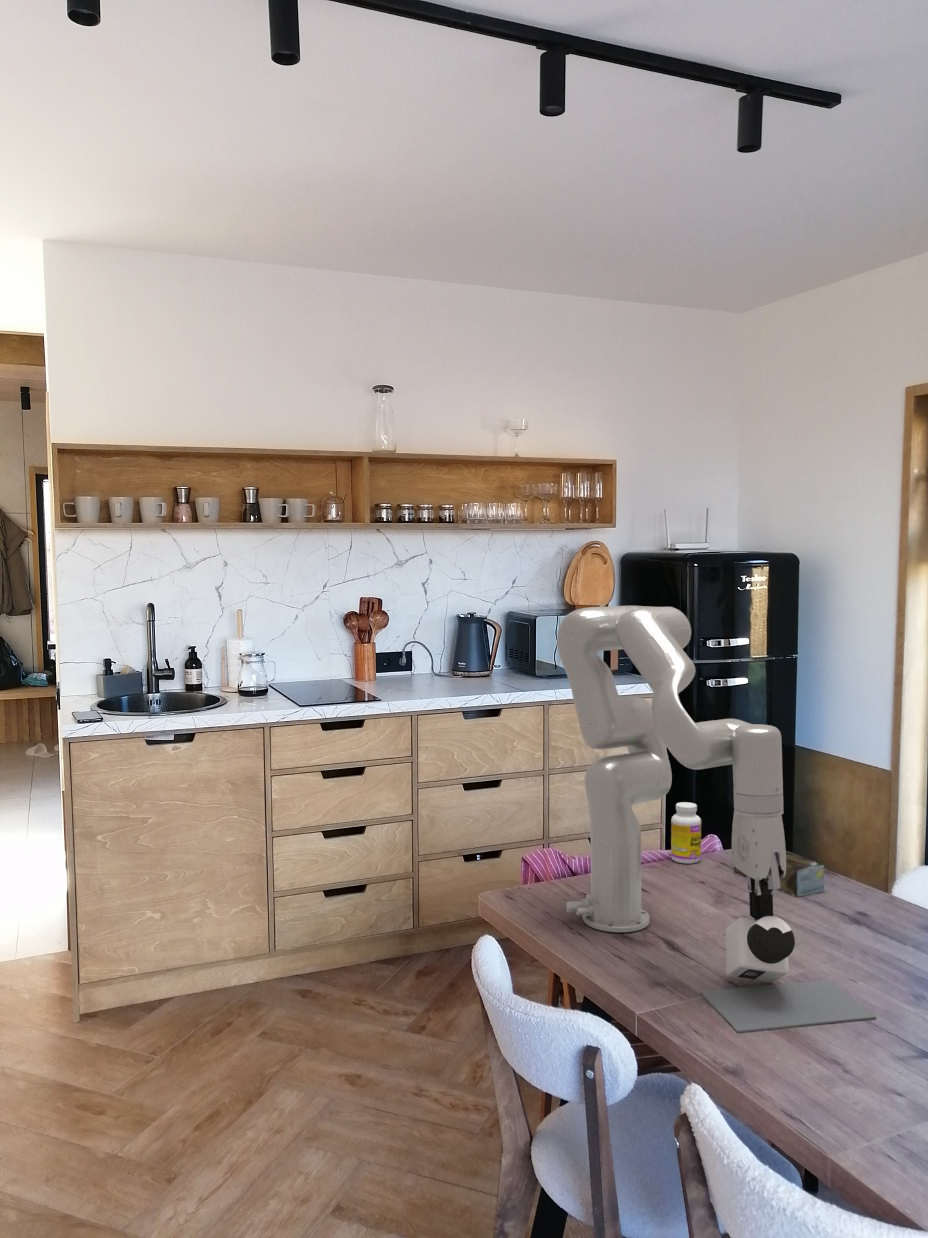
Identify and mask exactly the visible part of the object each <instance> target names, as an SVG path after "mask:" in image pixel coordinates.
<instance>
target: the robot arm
mask: <svg viewBox="0 0 928 1238" xmlns="http://www.w3.org/2000/svg"><path fill="white" fill-rule="evenodd" d="M691 627H692V626H691V623H690V621H689V619H688V618H687V616H686V615H685V614H684V613H683V612H682V611H681V610H680V609H677V607H676V608H675V607H673V606H649V605H647V606H644V605H643V606H642V605H617V606H616V605H613V606H588V607H584V608H579V609H575V610H573V611H571V612H569V613H567V614H566V616H564V617H563V619H562V621H561V622H560V625H559V627H558V630H557V637H556V638H557V640H556V641H557V642H556V645H557V651H558V654H559V655H558V656H559V658H560V662H561V663H562V667H563V669H564V671H565V673H566V676H567V678H568V681H569V685H570V689H571V694H572V699H573V704H574V707H575V712H576V715H577V719H578V725H579V728H580V733H581V735H582V738H583V740H584V744H586V746H588V747H589V748H590V749H592V750H598V751H601V750H602V751H604V750H610V749H611V750H612V749H620V748H625V747H626V748H627V749H626V750H627V751H628V753H621V754H620V753H619V754H614V755H609V756H604V757H601V758H599V759H597V760H595V761H593V762H592V763H591V764H590V765H589V766H588V768H587V769H586V771H585V775H584V788H585V794H586V798H587V803H588V804H587V805H588V811H589V832H590V834H589V835H590V836H589V837H590V893H587V894H586V895H585V897H586V898H584V899H581V901H566V902H565V909H566V913H573V912H574V913H575V912H576V915H577V916H582V921H583V922H584V923H585V924H586V925H587V926H589V927H591V928H593V929H595V930H599V931H604V932H608V933H632V932H637V931H640V930H641V931H642V930H643V929H645V928H646V927H648V926H649V925H650V922H651V921H650V920H651V919H650V918H651V916H650V915H649V913H648V912H647V911H646V910H644V909H643V908H642V828H641V825H640V822H639V820H638V818H637V816H636V814H635V812H634V811H633V808H632V806H633V805H637V804H642V803H646V802H651V801H654V800H659V799H661V798H663V797H665V796H666V795H667V794H668V793H669V791H670V789H671V787H672V782H673V781H672V780H673V778H672V777H673V774H672V768H671V763H670V760H669V755H668V751H669V752H670V753H671V755H672V756H673V757H674V758H675V759H676V761H677V762H678V763H680V764H681V765H683V766H684V767H685V768H687V769H691V770H695V771H696V770H705V769H711V768H716V767H721V766H722V767H723V766H728V765H729V766H730V765H732V775H733V776H732V779H733V782H732V783H733V809H734V810H733V817H732V818H733V819H732V826H731V827H732V828H731V829H732V830H731V863H732V865H733V867H734V866H735V867H736V868H737V869H738V870H740V871H742V872H743V873H745V875H746V876H745V875H744V876H745V877H746V879H747V880H746V883H747V889H748V897H749V898H748V899H749V916H750V917H751V918H752V919H756V920H759V919H761V918H763V917H766V916H774V899H773V898H774V894H775V890H778V889H780V887H781V886H780V878H783V877H784V876H785V874H786V851H787V850H786V840H785V839H786V838H785V829H784V822H783V816H782V815H783V814H784V789H783V788H784V783H783V782H784V780H783V779H784V778H783V748H782V745H783V744H782V742H783V741H782V734H781V731H780V730H779V728H777V727H776V726H773V725H771V724H769V725H768V724H760V723H759V724H758V723H757V724H756V723H755V724H752V723H749V722H746V721H744V720H741V719H738V718H737V719H736V718H724V719H717V720H715V719H713V720H707V721H699V722H695V721H694V720H693V719H692V718H691V716H690V714H688V712H687V711H686V709H685V707H683V704H682V703H681V699H680V696H679V694H680V693H681V692H682V691H684V689H686V688H687V687H688V685H690V684H691V682H692V681H693V679H694V677H695V675H696V666H695V664H694V662H693V661H692V659H691V658H690V657H689V656H688V655H687V653H686V651H684V648H685V647H686V646H687V645H688V644H689V642H690V640H691V636H692V628H691ZM617 650H624V652H625V654H626V655H627V656H628V658H629V659H630V661H631V662H632V664H633V665H634V666H635V668H636V669H637V671H638V672H639V674H640V675H641V676H642V677H643V679H644V681H645V682H646V683H647V685H648V686H649V688H650V689H651V690H652V698H651V703H650V702H649V701H647V700H646V699H645V698H642V697H639V696H627V697H620V695H619V693H618V689H617V686H616V682H615V676H614V675H613V673H612V670H611V669H610V667H609V666H608V664H607V663H606V662H605V661H604V660H603V659H602V658H601V657H600V656H599V654H598V653H599V652H601V651H605V652H606V651H617ZM667 749H668V751H667Z"/></svg>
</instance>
